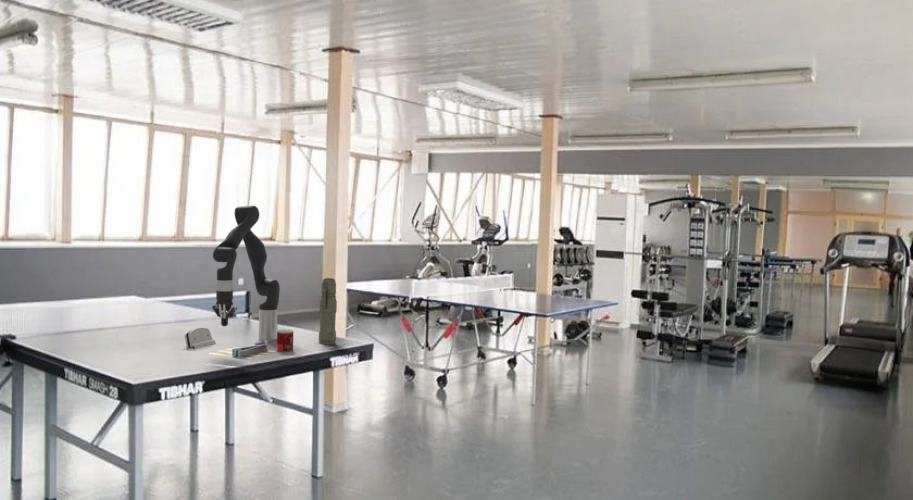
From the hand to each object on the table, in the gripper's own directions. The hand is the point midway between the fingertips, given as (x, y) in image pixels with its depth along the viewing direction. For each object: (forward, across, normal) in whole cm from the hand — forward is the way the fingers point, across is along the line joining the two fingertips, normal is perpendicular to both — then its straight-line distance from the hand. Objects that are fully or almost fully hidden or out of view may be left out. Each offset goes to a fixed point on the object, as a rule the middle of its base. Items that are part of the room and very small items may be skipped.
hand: (224, 326), depth 323 cm
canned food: (+15, -22, -18) cm, 32 cm away
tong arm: (+12, -12, -3) cm, 18 cm away
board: (+14, -7, -4) cm, 16 cm away
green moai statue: (+15, -28, -47) cm, 57 cm away
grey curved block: (+14, +26, -14) cm, 33 cm away
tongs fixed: (+13, -14, -4) cm, 19 cm away
